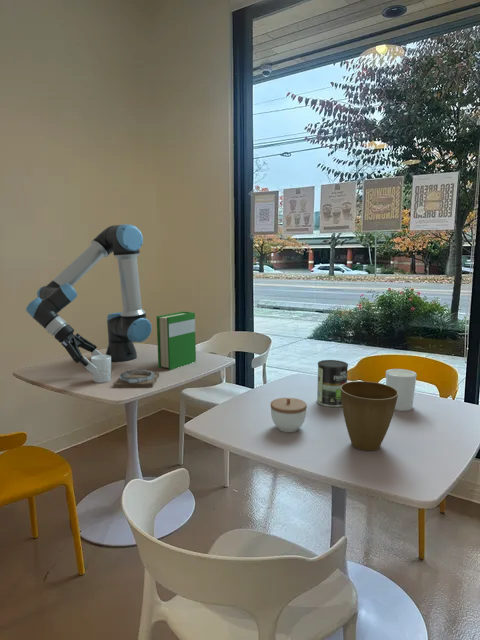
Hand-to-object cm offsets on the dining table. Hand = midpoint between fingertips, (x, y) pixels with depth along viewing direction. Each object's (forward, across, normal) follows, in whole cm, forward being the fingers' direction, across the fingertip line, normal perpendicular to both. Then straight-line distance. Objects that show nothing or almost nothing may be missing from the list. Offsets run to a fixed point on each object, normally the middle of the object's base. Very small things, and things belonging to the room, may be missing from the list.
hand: (99, 366), depth 176 cm
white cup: (+5, -1, -4) cm, 7 cm away
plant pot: (+69, +61, +61) cm, 110 cm away
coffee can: (+68, +27, +59) cm, 94 cm away
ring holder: (+15, +1, +7) cm, 17 cm away
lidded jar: (+55, +49, +46) cm, 87 cm away
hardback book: (+25, -25, +16) cm, 38 cm away
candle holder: (+83, +32, +75) cm, 116 cm away
